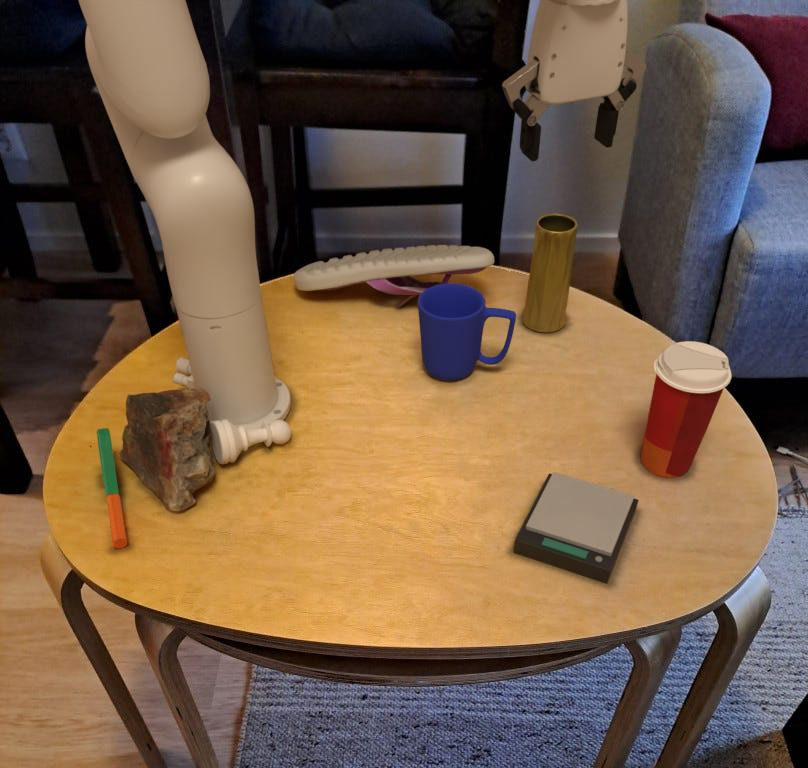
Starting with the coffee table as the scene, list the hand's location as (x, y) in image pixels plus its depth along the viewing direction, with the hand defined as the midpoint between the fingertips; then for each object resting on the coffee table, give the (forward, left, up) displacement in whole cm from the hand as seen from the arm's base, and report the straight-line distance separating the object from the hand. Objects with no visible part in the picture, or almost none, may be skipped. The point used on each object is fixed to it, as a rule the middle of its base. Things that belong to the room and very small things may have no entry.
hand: (566, 149), depth 96 cm
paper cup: (+22, -22, -23) cm, 39 cm away
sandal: (-22, -3, -16) cm, 28 cm away
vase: (0, 0, -23) cm, 23 cm away
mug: (-6, -15, -23) cm, 29 cm away
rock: (-25, -45, -23) cm, 57 cm away
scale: (+16, -37, -23) cm, 46 cm away
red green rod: (-31, -53, -21) cm, 65 cm away
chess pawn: (-25, -44, -21) cm, 54 cm away
